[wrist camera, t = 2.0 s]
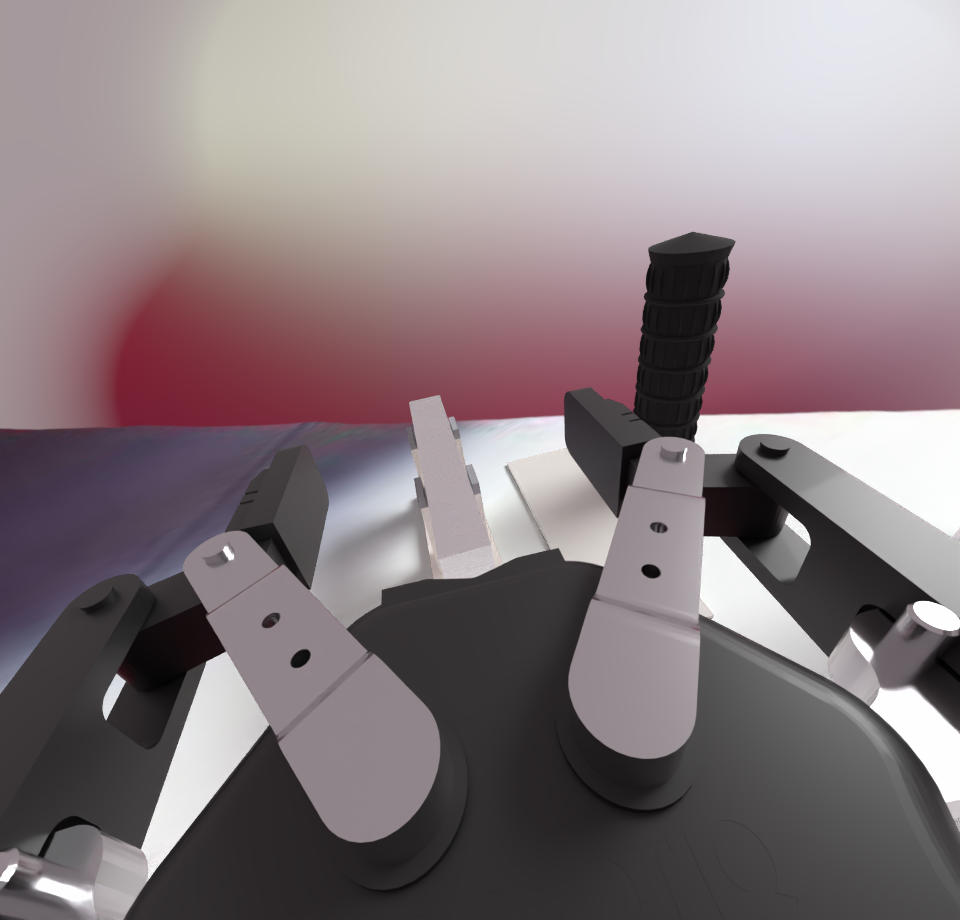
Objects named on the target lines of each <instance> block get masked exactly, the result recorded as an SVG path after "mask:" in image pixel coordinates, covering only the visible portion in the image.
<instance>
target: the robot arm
mask: <svg viewBox="0 0 960 920" xmlns="http://www.w3.org/2000/svg"><path fill="white" fill-rule="evenodd" d="M564 418H565V442H566V446H567V449H568V451H569V453H570V455H571V456H572V458H573V459H574V460H575V462H576V463H577V465H578V466H579V467H580V469H581V470H582V471H583V473H584V474H585V476H586V477H587V478H588V480H589V481H590V482H591V484H592V485H593V486H594V488H595V489H596V491H597V492H598V493H599V495H600V496H601V497H602V499H603V500H604V502H605V503H606V504H607V506H608V507H609V508H610V510H611V511H612V512H613V514H614V515H615V517H616V518H618V521H617V525H616V528H615V531H614V535H613V538H612V541H611V545H610V548H609V551H608V555H607V558H606V562H605V565H604V567H603V566H600V565H597V564H593V563H588V562H582V561H565V560H564V558H563V556H562V554H561V551H560V549H559V548H556V549H552V550H548V551H543V552H539V553H535V554H531V555H527V556H522V557H518V558H515V559H513V560H511V561H509V562H507V563H505V564H503V565H501V566H498V567H496V568H494V569H492V570H490V571H488V572H486V573H484V574H482V575H479V576H477V577H474V578H458V579H426V580H422V581H418V582H413V583H409V584H405V585H401V586H397V587H392V588H388V589H384V590H382V604H381V605H380V606H378V607H376V608H375V609H373V610H371V611H369V612H368V613H366V614H365V615H363V616H362V617H360V618H359V619H358V620H356V621H355V622H354V623H353V624H352V625H351V626H349V627H348V628H347V629H345V627H344V626H343V625H342V624H341V623H340V622H339V621H338V620H337V619H336V618H335V617H334V616H333V615H332V614H331V613H330V612H329V611H328V610H327V609H326V608H325V607H324V606H323V605H322V604H321V603H320V602H319V600H318V599H317V598H316V597H315V596H314V595H313V594H312V593H311V592H310V591H309V590H310V589H311V585H312V581H313V576H314V571H315V567H316V562H317V557H318V553H319V548H320V543H321V539H322V534H323V529H324V525H325V520H326V515H327V511H328V506H329V500H328V493H327V489H326V487H325V484H324V482H323V480H322V477H321V475H320V473H319V470H318V468H317V466H316V463H315V461H314V459H313V457H312V454H311V452H310V450H309V449H308V447H307V446H306V445H302V446H297V447H292V448H287V449H282V450H278V451H277V453H276V455H275V457H274V459H273V461H272V463H271V466H270V468H269V469H265V470H263V471H262V472H261V473H260V474H259V475H258V476H256V477H255V478H254V479H253V480H252V481H251V483H250V484H249V486H248V488H247V490H246V492H245V495H244V496H243V498H242V500H241V502H240V505H239V506H238V508H237V510H236V511H235V513H234V515H233V517H232V519H231V521H230V523H229V525H228V527H227V529H226V531H225V533H223V534H220V535H217V536H215V537H213V538H211V539H209V540H207V541H206V542H204V543H202V544H201V545H200V546H198V547H197V548H196V549H195V550H194V551H193V552H192V553H191V554H190V555H189V556H188V557H187V559H186V560H185V562H184V565H183V572H181V573H178V574H176V575H174V576H171V577H169V578H166V579H164V580H162V581H159V582H157V583H155V584H152V585H150V586H148V587H147V586H146V585H145V584H144V582H143V581H142V580H141V579H140V578H139V577H138V576H136V575H133V574H124V575H119V576H115V577H112V578H109V579H107V580H104V581H102V582H100V583H98V584H96V585H95V586H93V587H91V588H90V589H88V590H86V591H85V592H83V593H82V594H81V595H79V596H78V597H77V598H76V599H74V600H73V601H72V602H71V603H70V604H69V605H68V606H67V607H66V608H65V610H64V611H63V612H62V613H61V615H60V616H59V617H58V619H57V620H56V621H55V623H54V624H53V625H52V627H51V628H50V629H49V631H48V632H47V633H46V635H45V636H44V637H43V639H42V640H41V641H40V643H39V644H38V645H37V647H36V648H35V649H34V650H33V652H32V653H31V654H30V656H29V657H28V658H27V660H26V661H25V662H24V664H23V665H22V666H21V668H20V669H19V670H18V672H17V673H16V674H15V676H14V677H13V678H12V680H11V681H10V682H9V684H8V685H7V686H6V688H5V689H4V690H3V691H2V693H1V694H0V920H960V832H959V830H958V828H957V826H956V824H955V821H954V819H957V818H960V528H959V530H958V531H957V532H956V533H955V535H954V536H953V537H952V538H951V537H950V536H948V535H947V534H945V533H943V532H942V531H940V530H939V529H937V528H935V527H934V526H932V525H931V524H929V523H927V522H926V521H924V520H923V519H921V518H919V517H918V516H916V515H915V514H913V513H911V512H910V511H908V510H907V509H905V508H903V507H902V506H900V505H899V504H897V503H895V502H894V501H892V500H891V499H889V498H887V497H886V496H884V495H883V494H881V493H879V492H878V491H876V490H875V489H873V488H871V487H870V486H868V485H867V484H865V483H863V482H862V481H860V480H859V479H857V478H855V477H854V476H852V475H851V474H849V473H847V472H846V471H844V470H843V469H841V468H839V467H838V466H836V465H835V464H833V463H831V462H830V461H828V460H827V459H825V458H823V457H822V456H820V455H819V454H817V453H815V452H814V451H812V450H811V449H809V448H807V447H806V446H804V445H803V444H801V443H799V442H797V441H795V440H792V439H789V438H786V437H782V436H777V435H770V434H758V435H751V436H748V437H745V438H744V439H742V440H741V441H740V444H739V447H738V451H737V454H705V452H704V450H703V449H702V448H701V447H700V446H699V445H698V444H696V443H694V442H692V441H689V440H686V439H683V438H677V437H662V436H660V435H659V434H658V433H657V432H656V431H655V430H653V429H652V428H651V427H650V426H649V425H647V424H646V423H645V422H644V421H643V420H640V418H639V417H638V416H637V415H635V414H633V413H632V411H631V410H629V409H628V408H627V407H626V406H624V405H623V404H621V403H619V402H616V401H613V400H610V399H606V400H604V399H603V398H602V397H601V396H600V395H599V394H598V393H597V392H595V391H594V390H593V389H592V388H590V387H589V388H583V389H579V390H574V391H569V392H566V394H565V397H564ZM788 513H790V514H791V515H792V516H793V517H795V518H796V519H797V520H798V521H799V522H801V523H802V524H803V525H804V526H805V528H806V529H807V531H808V533H809V535H810V539H811V546H810V545H809V544H807V543H806V542H805V541H804V540H803V539H802V538H801V537H799V536H798V535H797V534H796V533H795V532H794V531H793V530H791V529H790V528H789V527H788V526H787V525H786V524H785V521H786V518H787V516H788ZM703 536H716V537H720V538H721V539H722V540H723V541H724V542H725V543H726V545H727V546H728V547H729V548H730V549H731V550H732V551H733V552H734V553H735V554H736V556H737V557H738V558H739V559H740V560H741V561H742V562H743V563H744V564H745V566H746V567H747V568H748V569H749V570H750V571H751V572H752V573H753V574H754V576H755V577H756V578H757V579H758V580H759V581H760V582H761V583H762V584H763V585H764V587H765V588H766V589H767V590H768V591H769V592H770V593H771V594H772V595H773V597H774V598H775V599H776V600H777V601H778V602H779V603H780V604H781V605H782V607H783V608H784V609H785V610H786V611H787V612H788V613H789V614H790V615H791V616H792V618H793V619H794V620H795V621H796V622H797V623H798V624H799V625H800V626H801V628H802V629H803V630H804V631H805V632H806V633H807V634H808V635H809V636H810V638H811V639H812V640H813V641H814V642H815V643H816V644H817V645H818V646H819V647H820V649H821V650H822V651H823V652H824V653H825V654H826V655H827V656H828V657H829V660H828V668H829V672H830V675H831V677H832V679H833V681H834V682H835V683H834V682H832V681H830V680H829V679H827V678H825V677H823V676H821V675H819V674H817V673H815V672H813V671H811V670H809V669H807V668H805V667H803V666H801V665H799V664H797V663H795V662H793V661H791V660H789V659H787V658H785V657H784V656H782V655H780V654H778V653H776V652H774V651H772V650H770V649H768V648H766V647H764V646H762V645H760V644H758V643H756V642H754V641H752V640H750V639H748V638H746V637H744V636H742V635H740V634H738V633H736V632H734V631H732V630H730V629H728V628H726V627H725V626H723V625H721V624H719V623H717V622H715V621H713V620H711V619H709V618H707V617H705V616H703V615H701V614H699V600H700V584H701V567H702V550H703ZM226 651H227V653H228V655H229V656H230V658H231V660H232V661H233V663H234V665H235V667H236V668H237V670H238V672H239V673H240V675H241V677H242V678H243V680H244V682H245V683H246V685H247V687H248V689H249V690H250V692H251V694H252V695H253V697H254V699H255V700H256V702H257V704H258V705H259V707H260V709H261V710H262V712H263V714H264V716H265V717H266V719H267V721H268V722H269V724H270V725H269V726H268V727H267V729H266V730H265V731H264V733H263V734H262V735H261V736H260V738H259V739H258V740H257V741H256V743H255V744H254V745H253V747H252V748H251V749H250V750H249V752H248V753H247V754H246V756H245V757H244V758H243V759H242V761H241V762H240V763H239V764H238V766H237V767H236V768H235V770H234V771H233V772H232V773H231V775H230V776H229V777H228V779H227V780H226V781H225V782H224V784H223V785H222V786H221V787H220V789H219V790H218V791H217V793H216V794H215V795H214V796H213V798H212V799H211V800H210V802H209V803H208V804H207V805H206V807H205V808H204V809H203V810H202V812H201V813H200V814H199V816H198V817H197V818H196V819H195V821H194V822H193V823H192V824H191V826H190V827H189V828H188V830H187V831H186V832H185V833H184V835H183V836H182V837H181V839H180V840H179V841H178V842H177V844H176V845H175V846H174V847H173V849H172V850H171V851H170V853H169V854H168V855H167V856H166V858H165V859H164V860H163V862H162V863H161V864H160V865H159V867H158V868H157V869H156V871H155V872H154V873H153V875H152V876H151V877H150V879H149V880H148V882H147V877H148V863H147V859H146V856H145V854H144V853H143V852H142V850H141V847H142V845H143V842H144V839H145V836H146V833H147V830H148V827H149V825H150V822H151V819H152V816H153V813H154V810H155V807H156V805H157V802H158V799H159V796H160V793H161V790H162V787H163V785H164V782H165V779H166V776H167V773H168V770H169V767H170V765H171V762H172V759H173V756H174V753H175V750H176V747H177V745H178V742H179V739H180V736H181V733H182V730H183V727H184V725H185V722H186V719H187V716H188V713H189V710H190V707H191V705H192V702H193V699H194V696H195V693H196V690H197V687H198V685H199V682H200V679H201V676H202V673H203V670H204V667H205V665H206V661H208V660H210V659H212V658H214V657H216V656H218V655H220V654H222V653H224V652H226ZM116 673H117V674H118V675H119V676H120V677H121V678H123V679H124V680H125V681H126V683H125V685H124V687H123V688H122V690H121V692H120V694H119V696H118V698H117V700H116V702H115V704H114V706H113V708H112V710H111V712H110V714H109V716H108V718H107V720H105V718H104V716H103V711H102V705H103V699H104V696H105V694H106V692H107V690H108V688H109V686H110V684H111V682H112V680H113V679H114V677H115V675H116Z"/></svg>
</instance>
